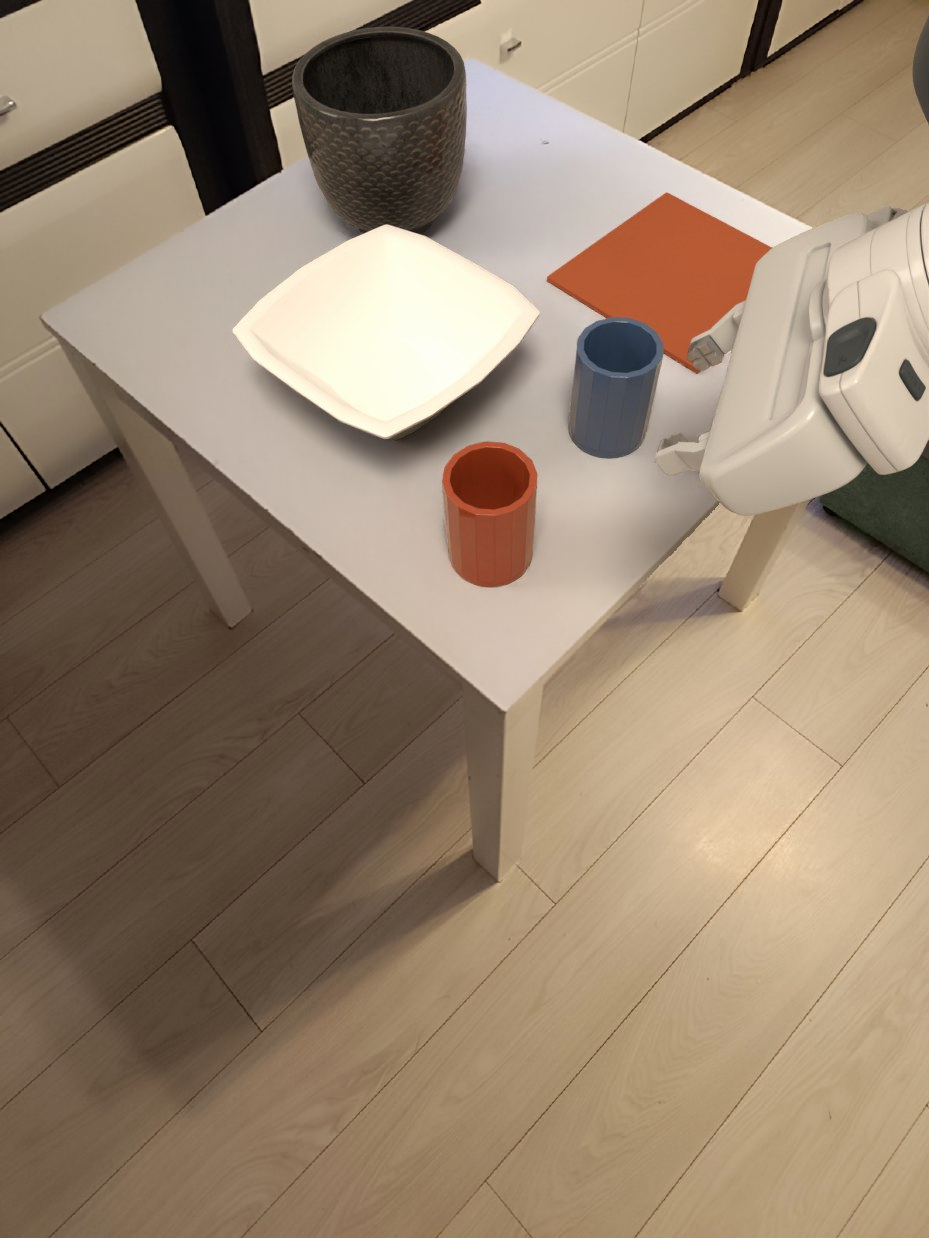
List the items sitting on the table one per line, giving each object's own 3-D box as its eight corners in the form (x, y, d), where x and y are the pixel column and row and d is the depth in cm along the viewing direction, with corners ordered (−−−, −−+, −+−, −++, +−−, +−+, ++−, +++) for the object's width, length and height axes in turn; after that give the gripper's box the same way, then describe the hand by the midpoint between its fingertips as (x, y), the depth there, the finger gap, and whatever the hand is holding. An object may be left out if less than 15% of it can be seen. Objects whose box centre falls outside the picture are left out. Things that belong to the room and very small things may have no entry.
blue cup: (646, 403, 82) (663, 319, 74) (645, 461, 79) (663, 379, 70) (570, 399, 83) (579, 315, 74) (566, 456, 79) (575, 374, 71)
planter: (397, 155, 104) (382, 8, 90) (501, 214, 98) (502, 65, 84) (288, 222, 98) (254, 75, 84) (391, 289, 92) (373, 142, 78)
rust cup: (535, 521, 75) (540, 444, 67) (529, 590, 72) (533, 518, 63) (454, 516, 76) (448, 438, 67) (444, 583, 73) (437, 511, 64)
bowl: (399, 518, 76) (388, 455, 69) (234, 396, 84) (209, 327, 77) (557, 382, 84) (562, 311, 77) (392, 282, 92) (383, 210, 85)
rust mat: (814, 275, 91) (816, 270, 90) (696, 374, 84) (698, 369, 83) (665, 196, 98) (666, 191, 98) (546, 281, 92) (546, 276, 91)
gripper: (890, 152, 48) (684, 268, 58) (847, 407, 39) (609, 492, 49) (938, 237, 51) (734, 334, 61) (909, 494, 42) (672, 557, 52)
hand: (678, 406), depth 55 cm, fingers open, 8 cm apart
